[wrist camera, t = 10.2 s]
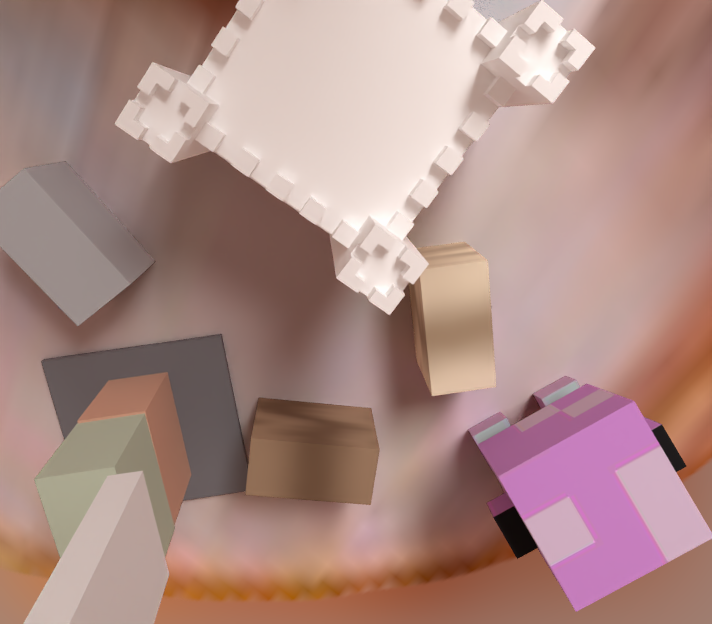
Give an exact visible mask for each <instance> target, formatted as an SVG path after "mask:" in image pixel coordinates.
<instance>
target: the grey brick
mask: <svg viewBox="0 0 712 624" xmlns="http://www.w3.org/2000/svg"><path fill="white" fill-rule="evenodd" d="M0 247H1V248H2V249H3V250H4V251H5V252H6V253H7V254H8V255H9V256H10V257H11V258H12V259H13V260H14V261H15V262H16V263H17V264H18V265H19V266H20V268H21V269H22V270H23V271H24V272H25V273H26V274H27V275H28V276H29V277H30V278H31V279H32V280H33V281H34V282H35V283H36V284H37V285H38V286H39V287H40V288H41V289H42V290H43V291H44V292H45V293H46V294H47V295H48V296H49V297H50V298H51V299H52V300H53V301H54V302H55V303H56V304H57V305H58V306H59V308H60V309H61V310H62V311H63V312H64V313H65V314H66V315H67V316H68V317H69V318H70V319H71V320H72V321H73V322H74V323H75V324H76V325H77V326H79V325H80V324H81V323H83V322H84V321H85V320H86V319H88V318H89V317H90V316H91V315H93V314H94V313H95V312H96V311H98V310H99V309H100V308H101V307H103V306H104V305H105V304H106V303H108V302H109V301H110V300H111V299H113V298H114V297H115V296H116V295H118V294H119V293H120V292H121V291H123V290H124V289H125V288H126V287H128V286H129V285H130V284H131V283H132V282H134V281H135V280H136V279H137V278H138V277H139V276H140V275H141V274H142V273H143V272H144V271H146V270H147V269H148V268H149V267H150V266H151V265H152V264H153V263H154V262H155V260H154V259H153V258H152V257H151V256H150V255H149V254H148V253H147V251H146V250H145V249H144V248H143V247H142V246H141V245H140V244H139V243H138V241H137V240H136V239H135V238H134V237H133V236H132V235H131V234H130V232H129V231H128V230H127V229H126V228H125V227H124V226H123V225H122V224H121V222H120V221H119V220H118V219H117V218H116V217H115V216H114V215H113V213H112V212H111V211H110V210H109V209H108V208H107V207H106V206H105V205H104V203H103V202H102V201H101V200H100V199H99V198H98V197H97V196H96V195H95V193H94V192H93V191H92V190H91V189H90V188H89V187H88V186H87V184H86V183H85V182H84V181H83V180H82V179H81V178H80V177H79V176H78V174H77V173H76V172H75V171H74V170H73V169H72V168H71V167H70V165H69V164H68V163H67V162H66V161H64V162H59V163H53V164H47V165H41V166H35V167H29V168H24V169H23V170H21V171H20V172H19V173H18V174H17V175H16V176H14V177H13V178H12V179H11V180H10V181H9V182H7V183H6V184H5V185H4V186H3V187H2V188H0Z"/></svg>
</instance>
